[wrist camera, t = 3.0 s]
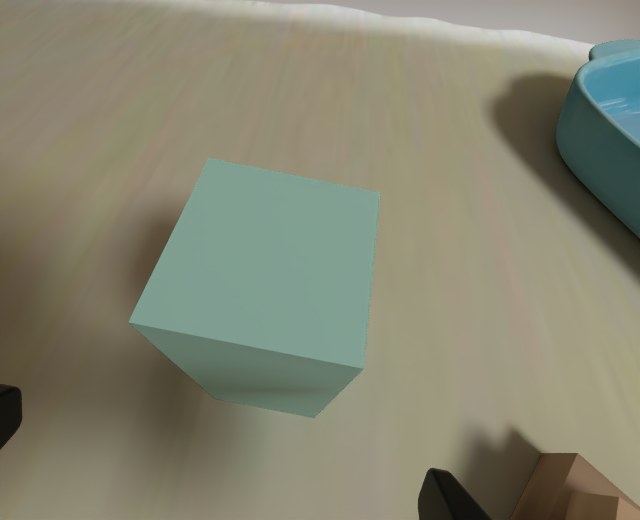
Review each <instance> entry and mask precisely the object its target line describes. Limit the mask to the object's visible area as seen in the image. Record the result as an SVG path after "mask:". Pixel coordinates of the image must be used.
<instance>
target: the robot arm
mask: <svg viewBox="0 0 640 520" xmlns="http://www.w3.org/2000/svg"><path fill="white" fill-rule="evenodd" d="M21 421H22V394H21V390H20V389H19V388H18V387H15V386H10V385H5V384H0V450H1V448H2V447H3V446H4V445H5V444H6V443H7V441H8V440H9V439H10V438H11V437H12V436H13V435H14V433H15V432H16V431H17V430H18V428H19V426H20V424H21ZM418 513H419V520H492V519H491V518H490V517H489V516H488V515H487V514H486V513H485V511H484V510H483V509H482V508H481V507H480V506H479V505H478V503H477V502H476V501H475V500H474V499H473V498H472V497H471V496H470V494H469V493H468V492H467V491H466V490H465V489H464V488H463V486H462V485H461V484H460V483H459V482H458V481H457V480H456V479H455V477H454V476H453V475H452V474H451V473H450V472H448V471H446V470H441V469H436V468H430V469H429V470H428V471H427V474H426V477H425V479H424V482H423V485H422V488H421V491H420V494H419V498H418Z"/></svg>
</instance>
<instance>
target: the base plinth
mask: <svg viewBox="0 0 640 520" xmlns="http://www.w3.org/2000/svg"><path fill="white" fill-rule="evenodd" d="M571 491H575V492H583V493H591V494H599V495H607V496H615V497H620V498H621V499H623V500H624V501H626V502H627V503H629V504H630V505H632V506H633V507H635V508H636V509H638V510H639V511H640V507H639V506H638V505H637V504H636V503H634V502H633V501H632V500H631V499H630V498H629V497H628V496H626V495H625V494H624V493H623V492H622V491H621V490H619V489H618V488H617V487H616V486H615V485H614V484H613V483H611V482H610V481H609V480H608V479H607V478H606V477H605V476H603V475H602V474H601V473H600V472H599V471H598V470H596V469H595V468H594V467H593V466H592V465H591V464H590V463H588V462H587V461H586V460H585V459H584V458H583V457H582V456H580V455H579V454H578V453H542V455H541V457H540V459H539V461H538V463H537V465H536V467H535V469H534V471H533V473H532V475H531V477H530V479H529V481H528V483H527V485H526V487H525V489H524V491H523V493H522V496H521V498H520V500H519V502H518V504H517V506H516V508H515V510H514V512H513V514H512V516H511V518H510V520H565V519H566V514H567V509H568V504H569V499H570V494H571Z"/></svg>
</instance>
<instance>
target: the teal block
mask: <svg viewBox="0 0 640 520" xmlns="http://www.w3.org/2000/svg"><path fill="white" fill-rule="evenodd" d="M379 202H380V193H379V192H375V191H370V190H365V189H360V188H355V187H350V186H345V185H340V184H335V183H330V182H325V181H320V180H315V179H311V178H306V177H301V176H296V175H291V174H286V173H281V172H276V171H271V170H266V169H261V168H256V167H251V166H247V165H242V164H237V163H232V162H227V161H222V160H217V159H212V158H209V159H208V161H207V163H206V165H205V167H204V169H203V171H202V173H201V175H200V177H199V179H198V181H197V183H196V185H195V187H194V189H193V191H192V193H191V195H190V197H189V199H188V201H187V203H186V205H185V208H184V210H183V212H182V214H181V216H180V218H179V220H178V222H177V224H176V226H175V228H174V230H173V232H172V234H171V236H170V238H169V240H168V242H167V244H166V246H165V248H164V250H163V252H162V254H161V256H160V258H159V261H158V263H157V265H156V267H155V269H154V271H153V273H152V275H151V277H150V279H149V281H148V283H147V285H146V287H145V289H144V291H143V293H142V295H141V297H140V299H139V301H138V303H137V305H136V307H135V309H134V311H133V313H132V316H131V318H130V320H129V322H128V323H130V324H131V325H132V326H133V327H134V328H135V329H136V330H137V331H139V332H140V333H141V334H142V335H143V336H144V337H145V338H146V339H148V340H149V341H150V342H151V343H152V344H153V345H154V346H155V347H157V348H158V349H159V350H160V351H161V352H162V353H163V354H164V355H166V356H167V357H168V358H169V359H170V360H171V361H172V362H173V363H175V364H176V365H177V366H178V367H179V368H180V369H181V370H183V371H184V372H185V373H186V374H187V375H188V376H189V377H190V378H192V379H193V380H194V381H195V382H196V383H197V384H198V385H199V386H201V387H202V388H203V389H204V390H205V391H206V392H207V393H208V394H210V395H211V396H212V397H213V398H214V399H219V400H224V401H230V402H235V403H240V404H245V405H250V406H255V407H260V408H265V409H271V410H276V411H281V412H286V413H291V414H296V415H301V416H306V417H312V418H315V417H316V416H317V415H318V414H319V413H320V412H321V411H322V410H323V409H324V408H325V407H326V406H327V405H328V404H329V403H330V402H331V401H332V400H333V399H334V398H335V397H336V396H337V395H338V394H339V393H340V392H341V391H342V390H343V389H344V388H345V387H346V386H347V385H348V384H349V383H350V382H351V381H352V380H353V379H354V378H355V377H356V376H357V375H358V374H359V373H360V372H361V371H362V370H363V369H364V361H365V350H366V340H367V329H368V318H369V308H370V297H371V287H372V276H373V265H374V255H375V244H376V234H377V223H378V212H379Z"/></svg>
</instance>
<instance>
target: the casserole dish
mask: <svg viewBox="0 0 640 520" xmlns="http://www.w3.org/2000/svg"><path fill="white" fill-rule="evenodd" d="M556 142H557V147H558V149H559V152H560V155H561V157H562V158H563V160H564V162H565V163H566V164H567V166H568V167H569V168H570V170H571V171H572V172H573V173H574V174H575V176H576V177H577V178H578V179H579V180H580V181H581V182H582V183H583V184H584V185H585V186H586V187H587V188H588V189H589V190H590V191H591V192H592V193H593V194H594V195H595V196H596V197H597V198H598V199H599V200H600V201H601V202H602V203H603V204H604V205H605V206H606V207H607V208H608V209H609V210H610V211H611V212H612V213H613V214H614V215H615V216H616V217H617V218H618V219H619V220H620V221H621V222H622V223H624V224H625V225H626V226H627V227H628V228H629V229H630V230H631V231H632V232H633V233H634V234H635V235H636V236H637V237H638V238H639V239H640V40H617V41H611V42H606V43H602V44H599V45H596V46H594V47H593V48H592V49H591V50H590V52H589V62H588V63H586V64H584V65H583V66H582V67H581V68H580V69H579V70H578V71H577V73H576V75H575V77H574V80H573V82H572V85H571V88H570V90H569V93H568V95H567V97H566V100H565V103H564V105H563V108H562V111H561V114H560V117H559V120H558V124H557V129H556Z"/></svg>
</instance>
